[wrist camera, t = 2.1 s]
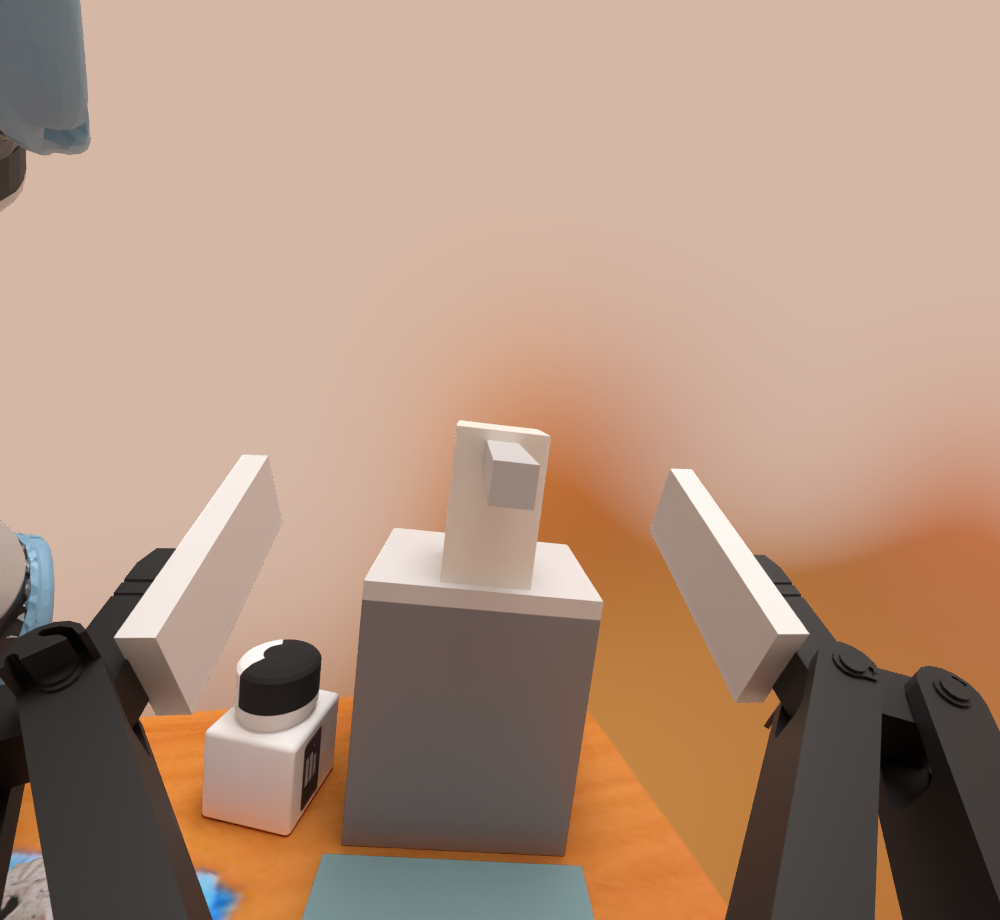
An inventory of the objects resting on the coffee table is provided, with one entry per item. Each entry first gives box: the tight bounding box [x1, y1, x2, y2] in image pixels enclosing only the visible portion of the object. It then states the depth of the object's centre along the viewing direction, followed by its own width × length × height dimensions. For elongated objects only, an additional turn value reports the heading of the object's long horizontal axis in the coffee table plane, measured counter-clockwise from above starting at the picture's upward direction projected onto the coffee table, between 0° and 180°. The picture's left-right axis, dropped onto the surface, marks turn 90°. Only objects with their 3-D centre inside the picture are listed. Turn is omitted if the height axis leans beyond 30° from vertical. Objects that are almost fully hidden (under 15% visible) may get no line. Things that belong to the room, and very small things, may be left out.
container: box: [202, 640, 339, 835], centre depth 41 cm, size 8×8×13 cm
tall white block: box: [440, 421, 551, 590], centre depth 34 cm, size 18×7×12 cm, turn 3°
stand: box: [341, 528, 603, 856], centre depth 44 cm, size 14×18×22 cm
